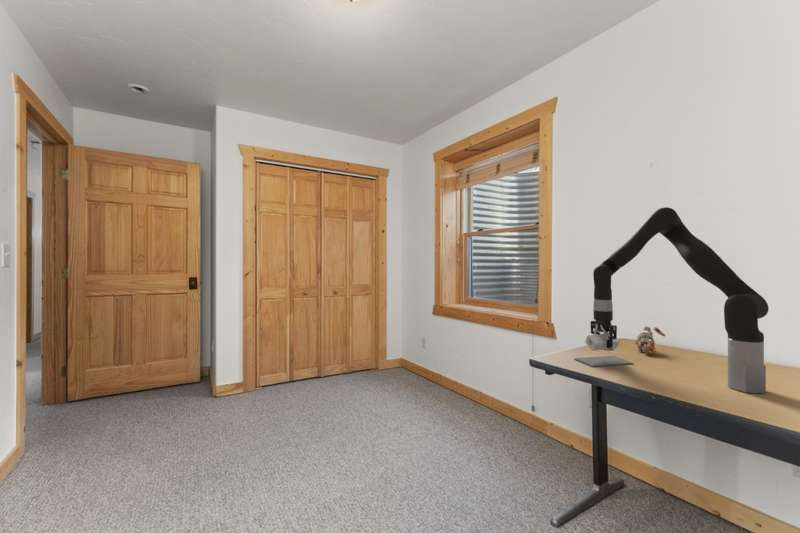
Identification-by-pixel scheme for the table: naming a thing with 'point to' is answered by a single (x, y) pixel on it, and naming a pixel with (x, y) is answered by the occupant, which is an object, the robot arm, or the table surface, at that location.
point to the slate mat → (603, 361)
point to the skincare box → (600, 342)
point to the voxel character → (647, 341)
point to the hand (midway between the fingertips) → (603, 346)
